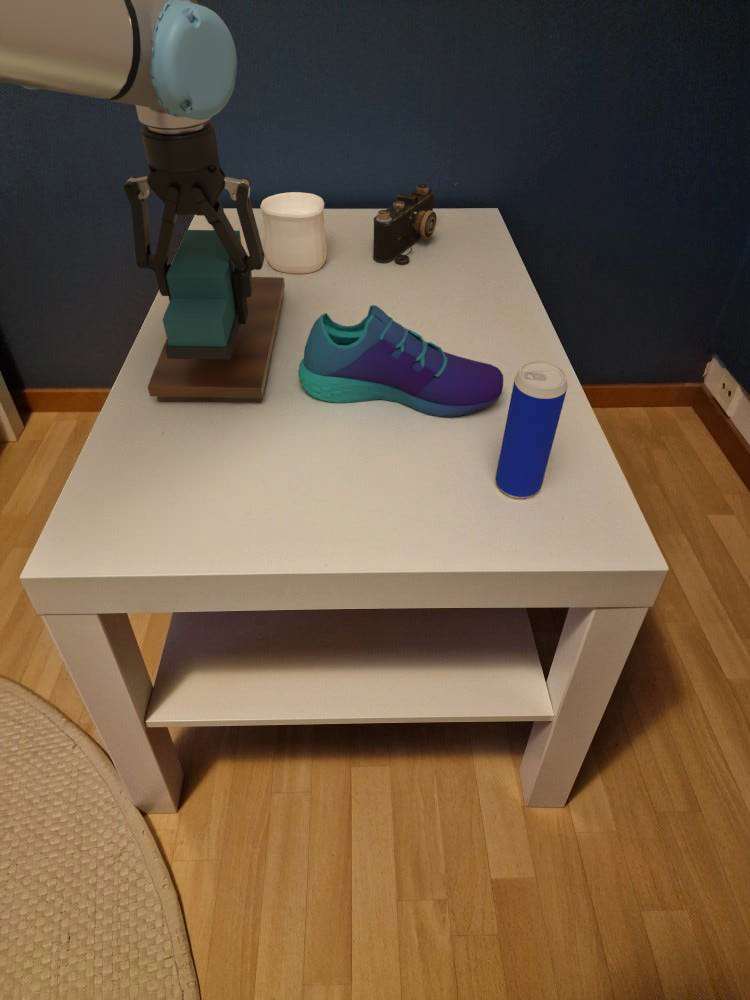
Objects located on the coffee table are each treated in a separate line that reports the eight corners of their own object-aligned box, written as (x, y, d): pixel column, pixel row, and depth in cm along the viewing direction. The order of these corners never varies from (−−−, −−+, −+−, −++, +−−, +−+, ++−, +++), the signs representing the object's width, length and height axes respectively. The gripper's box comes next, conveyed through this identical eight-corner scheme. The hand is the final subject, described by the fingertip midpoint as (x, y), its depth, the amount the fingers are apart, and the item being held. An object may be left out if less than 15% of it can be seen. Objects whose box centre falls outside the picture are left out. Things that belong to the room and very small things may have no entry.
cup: (336, 269, 112) (334, 209, 105) (278, 281, 109) (272, 220, 102) (315, 244, 118) (312, 186, 111) (259, 255, 115) (253, 196, 108)
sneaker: (498, 425, 85) (513, 340, 76) (292, 401, 88) (284, 317, 79) (501, 377, 92) (515, 295, 83) (310, 356, 95) (305, 275, 86)
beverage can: (537, 469, 79) (564, 359, 69) (543, 501, 76) (574, 391, 65) (492, 468, 79) (513, 358, 69) (497, 500, 76) (519, 389, 65)
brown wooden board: (194, 293, 106) (191, 275, 104) (285, 295, 106) (284, 277, 104) (152, 406, 87) (147, 386, 84) (263, 407, 87) (261, 388, 84)
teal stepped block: (196, 283, 94) (185, 226, 88) (250, 284, 94) (243, 226, 88) (167, 358, 82) (152, 297, 76) (230, 359, 82) (220, 298, 76)
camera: (401, 270, 112) (403, 221, 107) (367, 259, 115) (367, 211, 109) (448, 232, 122) (453, 186, 116) (416, 223, 125) (419, 178, 119)
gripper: (66, 133, 69) (124, 332, 85) (271, 136, 69) (288, 335, 85) (89, 109, 74) (139, 301, 90) (278, 112, 74) (294, 303, 90)
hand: (211, 317), depth 88 cm, fingers closed on teal stepped block, 7 cm apart
